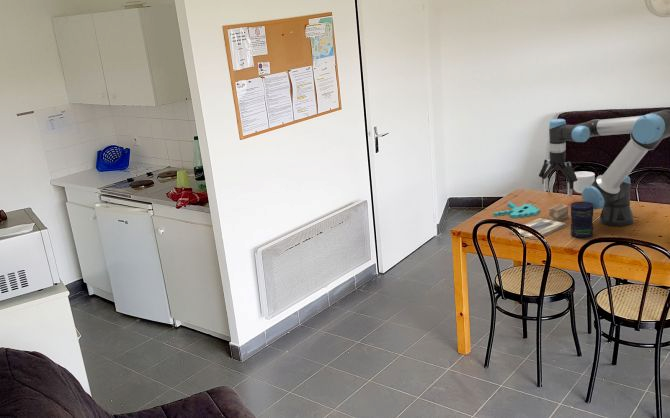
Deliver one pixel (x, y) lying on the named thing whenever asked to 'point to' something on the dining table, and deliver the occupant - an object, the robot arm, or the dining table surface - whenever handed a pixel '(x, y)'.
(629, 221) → the robot arm
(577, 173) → the cup
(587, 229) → the storage jar
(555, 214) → the block
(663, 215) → the dining table surface
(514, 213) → the alien figure
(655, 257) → the dining table surface
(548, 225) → the board
